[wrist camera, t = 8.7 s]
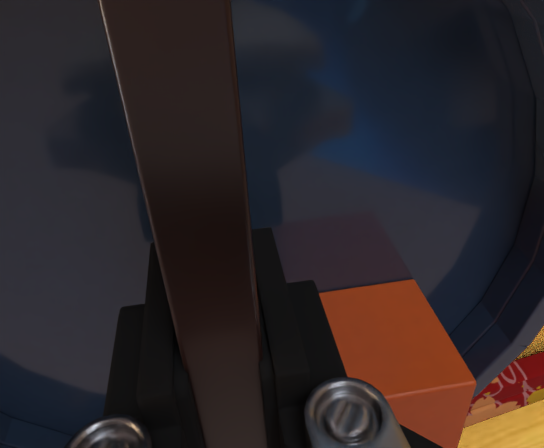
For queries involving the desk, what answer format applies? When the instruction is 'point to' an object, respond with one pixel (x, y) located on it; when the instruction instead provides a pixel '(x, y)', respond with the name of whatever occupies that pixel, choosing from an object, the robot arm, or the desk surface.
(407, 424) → the block
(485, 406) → the chopstick
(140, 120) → the dark brown long bar
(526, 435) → the desk surface
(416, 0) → the dark blue round tray
